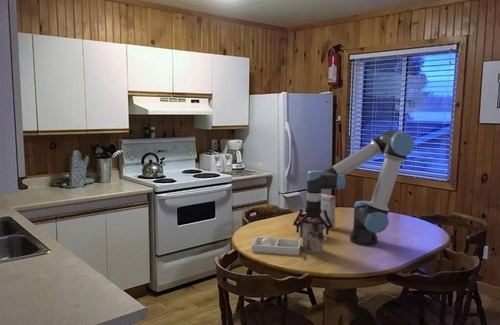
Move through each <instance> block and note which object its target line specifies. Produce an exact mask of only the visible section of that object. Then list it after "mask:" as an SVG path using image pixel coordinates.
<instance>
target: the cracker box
mask: <svg viewBox="0 0 500 325" xmlns="http://www.w3.org/2000/svg"><path fill="white" fill-rule="evenodd" d="M320 201H321V210H325V209H326V210H327V215H328V217H329V219H330V221H331V224H332V228H329V231H331V230H334V229H335V224H336V222H335V221H336V220H335V219H336V196H335V195H331V194H327V193H326V194H325V193H321V200H320ZM320 216H321V217H322V218H323V220H324V221H325V222H326V223H327V225H329V224H328V222H327V220H326V217H325V215H324V214H323V213H322V212H321V214H320ZM325 228H326V227H325V226H324V225H323V230H325Z"/></svg>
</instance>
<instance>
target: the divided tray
mask: <svg viewBox="0 0 500 325" xmlns="http://www.w3.org/2000/svg"><path fill="white" fill-rule="evenodd" d="M264 238H267V239H269V240H270V242H271V244H270V246H265V245H261V241H262V239H264ZM301 244H302V240H301V239H293V238H281V237H279V238H278V237H266V236H265V237H264V236H255V239H254V240H253V242H252V244H251V252H253V253H265V254H279V255H289V256H290V255H294V256H300V252H301V247H302V245H301Z"/></svg>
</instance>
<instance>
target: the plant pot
mask: <svg viewBox="0 0 500 325" xmlns="http://www.w3.org/2000/svg"><path fill="white" fill-rule="evenodd" d="M306 214H307V213H302V214H301V216H300V218H299V219H298V221H297V223H298V222H299V221H300V220H301V219H302V218H303V217H304V216H305V215H306ZM316 219H318V217H317V218H310V217H308V218H306V219H305V220H316ZM318 220H319V219H318ZM300 237H303V223H302V224H301V225H300Z"/></svg>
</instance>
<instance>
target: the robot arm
mask: <svg viewBox="0 0 500 325" xmlns="http://www.w3.org/2000/svg"><path fill="white" fill-rule="evenodd" d="M414 147H415V141H414V139H413V137H412V135H411V134H409V133H407V132H405V131H401V130H400V131H399V130H393V129H392V130H387V131H385V132H382V133H381V134H380V135H378V136H376V137H374V138H372V139H371V140H370V143H367V144H366V146H363V147H362V148H360V149H359V150H357V151H355V152H354V153H352V154H351V155H349V156H347V157H346V158H344V159H342V160H340V161H339V162H337V163H336V164H334V165H332V166H331V167H329V168H326V169H322V170H317V169H312V170H309V171H307V177H306V178H307V179H306V205H305V208H303V207H300V209H299V212H298V214H297V216H296V218H295V219H294V222H293V224H292V225H293V226H295V227H296V233H298V234H297V235H298V236H297V237H298V238H297V240H301V235H300V225H301V224H302V223H303V222H304V220H305V219H306V218H308V217H310V218H317V217H318V219H319V220H320V221H321V222H322V223H323V225H324V226H325V227H326V228H325V229H324V238H323V242H326V241H327V235H329V233H330V232H329V231H330V230H329V228H332V224H331V221H330V219H329V217H328V215H327V210H326V209H325V210H321V201H320V200H321V194H322V190H342V189H344V188H345V187H346V177H345V175H348V174H349V173H350V172H352V171H353V170H355V169H357V168H359V167H361V166H362V165H364V164H365V163H367V162H368V161H370V160H372V159H374V158H375V157H376V156H382V155H383V157H384V158H383V162H382V165H381V169H380V171H379V174H378V178H377V181H376V184H375V187H374V190H373V192H372V197H371V200H357V201H355V203H354V208H353V210H354V211H353V227H352V231H351V233H350V234H349V235H350V236H349V241H350V242H351V243H353V244H355V245H360V246H374V245H377V244H376V243H378V239H379V238H378V235H377V234H379V233H382V232H384V231H385V230H386V229H387V228H388V226H389V222H390V221H389V217H388V215H389V212H390V209H389V207H388V204H389V203H390V202H389V201H390V199H391V196H392V192H393V189H394V186H395V184H396V180H397V177H398V174H399V171H400V168H401V165H402V163H403V162H405V161H406V160H407V157H408V155H409V154H411V153H412V152H413V150H414ZM304 212H305V214H306V215H305V216H304V217H303V218H302V219H301V220H300V221H299V222H298V219H299V218H300V216H301V214H304ZM321 212H322V213H323V214H324V215H325V217H326V220H327V222H328V224H329V225H327V223H326V222H325V221H324V220H323V218H322V217H321V216H320V214H321ZM310 218H308V219H310Z"/></svg>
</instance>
